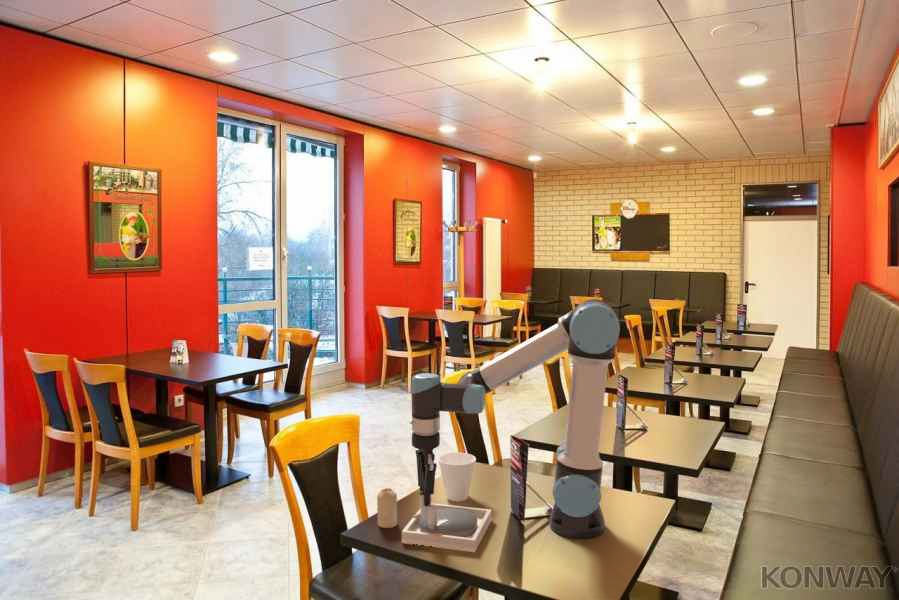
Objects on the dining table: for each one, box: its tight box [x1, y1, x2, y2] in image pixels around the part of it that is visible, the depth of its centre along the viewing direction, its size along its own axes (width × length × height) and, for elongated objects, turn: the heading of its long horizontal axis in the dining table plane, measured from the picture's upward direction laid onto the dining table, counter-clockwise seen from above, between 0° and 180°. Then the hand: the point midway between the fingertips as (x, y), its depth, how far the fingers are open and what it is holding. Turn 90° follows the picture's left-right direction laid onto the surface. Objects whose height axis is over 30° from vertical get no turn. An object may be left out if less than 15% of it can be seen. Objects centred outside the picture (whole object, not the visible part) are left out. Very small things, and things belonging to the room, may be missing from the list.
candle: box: [376, 487, 398, 529], centre depth 189 cm, size 6×6×10 cm
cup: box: [437, 452, 477, 502], centre depth 208 cm, size 12×12×12 cm
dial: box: [419, 504, 477, 537], centre depth 184 cm, size 16×16×8 cm
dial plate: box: [401, 502, 492, 553], centre depth 184 cm, size 20×20×4 cm
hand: (425, 515), depth 181 cm, fingers closed
